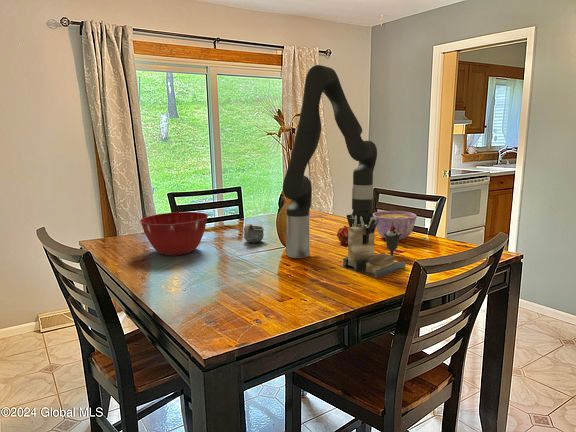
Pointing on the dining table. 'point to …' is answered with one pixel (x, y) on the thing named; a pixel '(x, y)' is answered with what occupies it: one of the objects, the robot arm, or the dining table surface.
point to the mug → (253, 233)
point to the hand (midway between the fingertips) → (361, 243)
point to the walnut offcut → (381, 259)
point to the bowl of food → (395, 222)
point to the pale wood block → (359, 245)
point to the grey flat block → (373, 268)
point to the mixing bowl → (175, 231)
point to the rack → (361, 268)
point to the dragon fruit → (343, 235)
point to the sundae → (392, 239)
